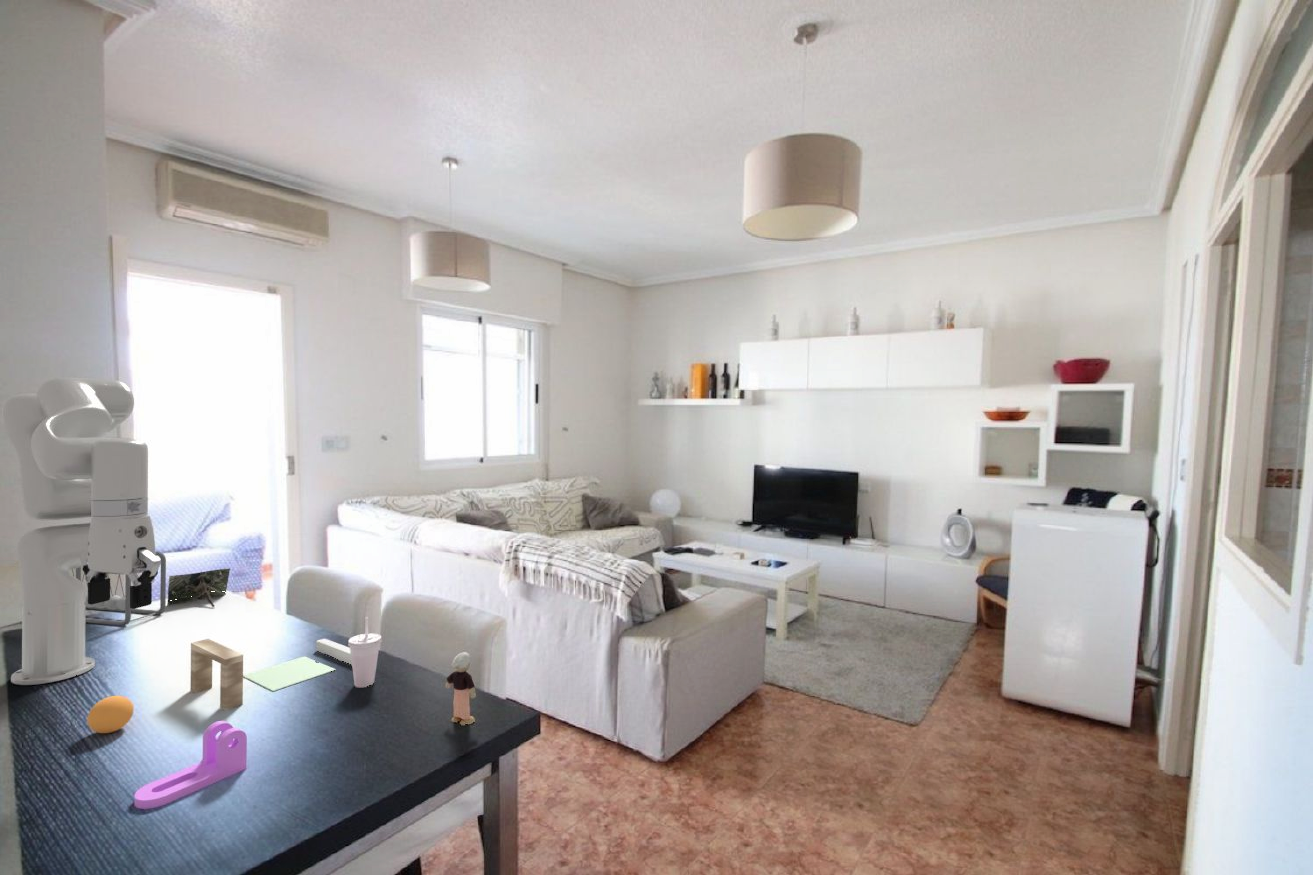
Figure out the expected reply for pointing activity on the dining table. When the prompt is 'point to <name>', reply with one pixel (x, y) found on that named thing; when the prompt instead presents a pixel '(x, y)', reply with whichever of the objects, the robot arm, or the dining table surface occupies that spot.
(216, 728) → the bracket
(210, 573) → the dark piece
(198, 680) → the bridge
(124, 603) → the newton's cradle
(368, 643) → the smoothie
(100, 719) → the ball
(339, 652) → the wall
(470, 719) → the grandmother figurine
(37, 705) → the dining table surface
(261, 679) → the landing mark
